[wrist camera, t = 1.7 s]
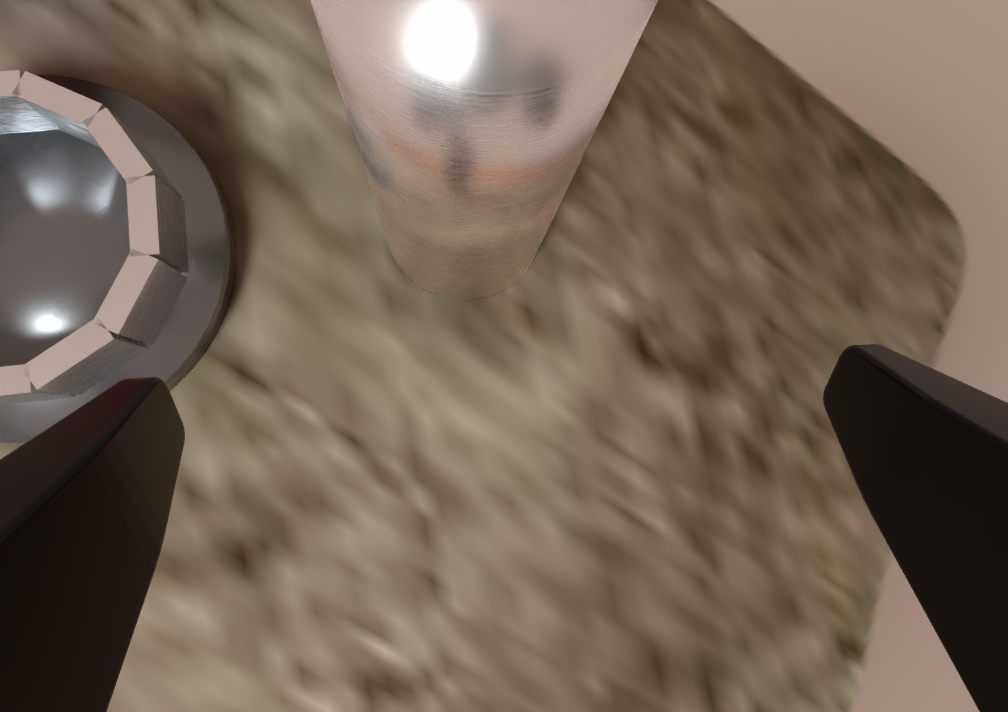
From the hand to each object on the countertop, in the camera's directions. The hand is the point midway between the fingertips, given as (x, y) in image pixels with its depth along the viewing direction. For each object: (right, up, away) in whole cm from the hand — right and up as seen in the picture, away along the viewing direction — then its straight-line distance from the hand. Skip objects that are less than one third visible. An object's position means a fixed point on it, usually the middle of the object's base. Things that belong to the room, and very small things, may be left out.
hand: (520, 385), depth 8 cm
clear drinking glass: (-2, +5, +13) cm, 15 cm away
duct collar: (-15, +4, +12) cm, 20 cm away
